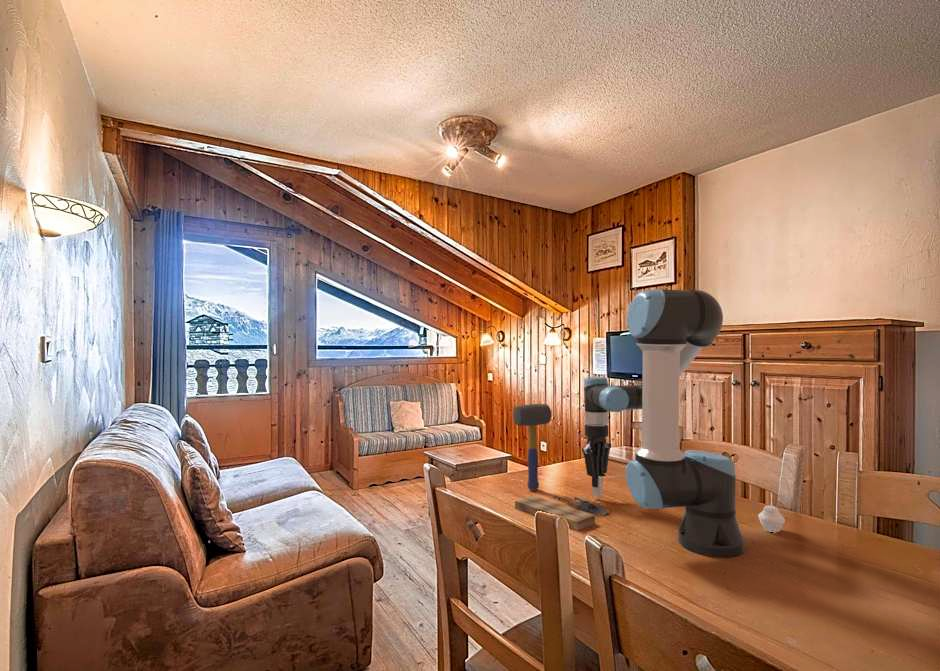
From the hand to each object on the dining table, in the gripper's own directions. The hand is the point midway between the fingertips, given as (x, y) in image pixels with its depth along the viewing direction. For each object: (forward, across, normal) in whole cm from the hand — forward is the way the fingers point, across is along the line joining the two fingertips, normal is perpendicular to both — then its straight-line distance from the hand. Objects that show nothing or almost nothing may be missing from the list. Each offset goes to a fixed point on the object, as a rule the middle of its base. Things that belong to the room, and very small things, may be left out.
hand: (597, 496), depth 162 cm
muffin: (+1, -13, +47) cm, 49 cm away
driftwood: (+2, +8, 0) cm, 8 cm away
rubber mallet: (+1, +8, -21) cm, 23 cm away
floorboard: (+1, +22, 0) cm, 22 cm away
